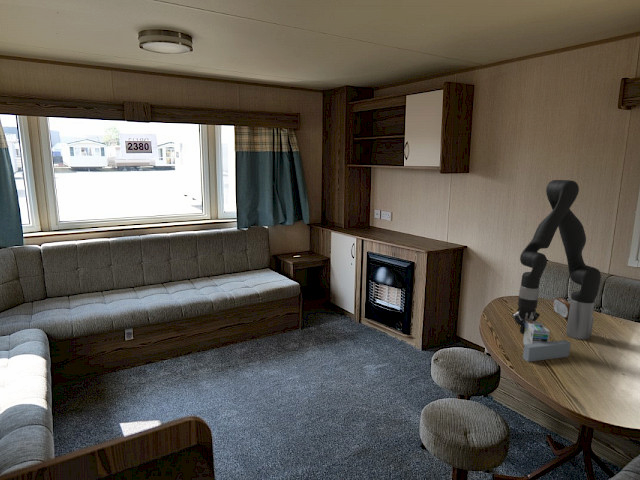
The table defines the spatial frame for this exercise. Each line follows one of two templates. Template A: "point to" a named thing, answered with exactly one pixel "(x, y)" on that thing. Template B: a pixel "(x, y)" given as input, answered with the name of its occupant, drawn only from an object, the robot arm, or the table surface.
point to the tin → (561, 307)
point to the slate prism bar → (546, 350)
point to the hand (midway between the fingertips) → (523, 333)
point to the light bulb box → (535, 333)
